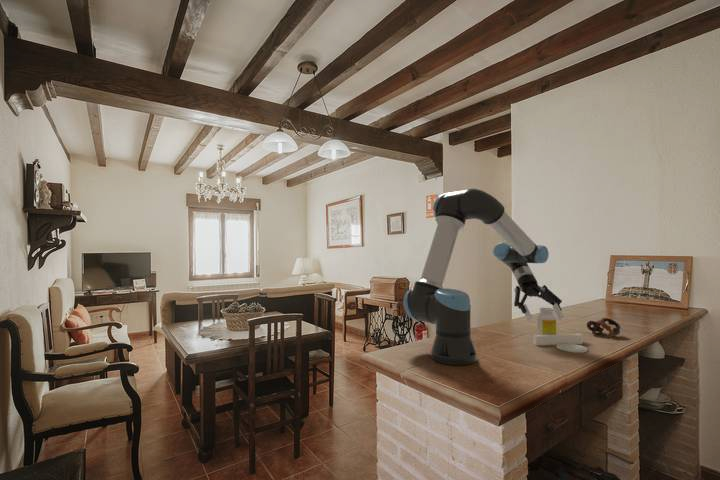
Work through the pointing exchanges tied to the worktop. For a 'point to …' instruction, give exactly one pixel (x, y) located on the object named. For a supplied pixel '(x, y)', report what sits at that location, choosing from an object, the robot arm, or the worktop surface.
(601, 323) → the brown openwork ring sculpture
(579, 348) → the coaster
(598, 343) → the worktop surface
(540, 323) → the supplement bottle
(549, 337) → the rail
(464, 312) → the robot arm
